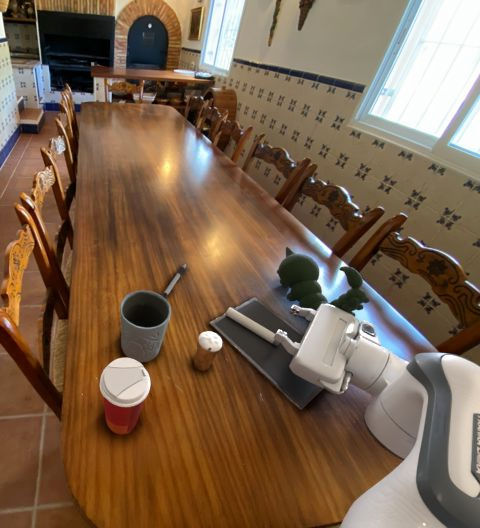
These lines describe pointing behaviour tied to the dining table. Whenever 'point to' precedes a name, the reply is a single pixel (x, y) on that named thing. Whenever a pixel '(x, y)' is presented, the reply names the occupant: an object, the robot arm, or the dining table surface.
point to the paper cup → (124, 393)
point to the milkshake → (207, 350)
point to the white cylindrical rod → (252, 326)
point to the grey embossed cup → (143, 324)
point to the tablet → (267, 350)
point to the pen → (174, 281)
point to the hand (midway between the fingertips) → (283, 320)
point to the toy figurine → (317, 284)
